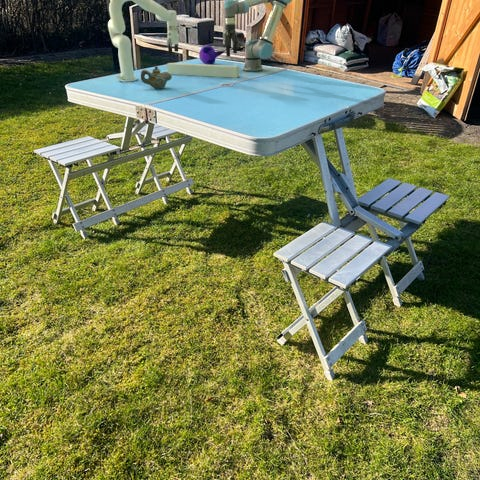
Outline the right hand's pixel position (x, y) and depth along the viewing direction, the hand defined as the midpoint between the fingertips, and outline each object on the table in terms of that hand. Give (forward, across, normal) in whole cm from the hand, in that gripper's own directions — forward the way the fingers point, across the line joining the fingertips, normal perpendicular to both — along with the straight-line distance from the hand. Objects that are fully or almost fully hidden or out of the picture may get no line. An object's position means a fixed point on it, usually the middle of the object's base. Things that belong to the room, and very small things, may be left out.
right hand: (231, 54), depth 340 cm
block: (+15, -1, +25) cm, 30 cm away
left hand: (-1, -1, +50) cm, 50 cm away
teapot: (+14, -56, +34) cm, 67 cm away
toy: (+16, +44, +39) cm, 60 cm away
